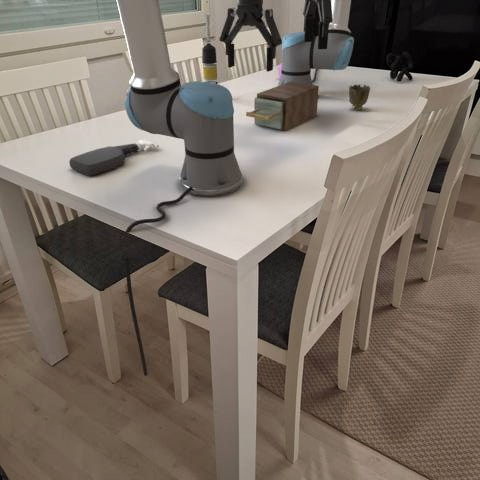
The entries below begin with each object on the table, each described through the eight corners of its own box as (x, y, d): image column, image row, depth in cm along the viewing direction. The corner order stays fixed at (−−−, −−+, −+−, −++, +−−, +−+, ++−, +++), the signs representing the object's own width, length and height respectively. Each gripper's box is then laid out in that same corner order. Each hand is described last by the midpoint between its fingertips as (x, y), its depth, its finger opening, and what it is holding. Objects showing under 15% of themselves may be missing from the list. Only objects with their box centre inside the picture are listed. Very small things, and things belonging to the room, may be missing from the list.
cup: (344, 110, 161) (346, 87, 157) (349, 105, 167) (352, 83, 162) (364, 113, 158) (367, 90, 154) (369, 107, 164) (372, 85, 159)
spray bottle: (67, 168, 120) (139, 144, 136) (91, 178, 114) (163, 151, 130) (65, 157, 118) (137, 134, 134) (89, 167, 112) (162, 142, 128)
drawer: (269, 134, 138) (270, 107, 134) (243, 128, 144) (243, 102, 139) (310, 114, 155) (312, 90, 150) (286, 110, 160) (286, 86, 156)
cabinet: (285, 131, 144) (286, 98, 138) (256, 124, 150) (256, 93, 144) (316, 115, 157) (318, 85, 152) (289, 110, 163) (290, 81, 158)
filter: (220, 99, 177) (217, 15, 161) (206, 100, 176) (202, 16, 160) (215, 96, 182) (212, 14, 166) (202, 97, 180) (197, 14, 164)
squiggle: (400, 92, 202) (376, 71, 205) (417, 76, 202) (392, 56, 205) (405, 81, 191) (380, 59, 194) (423, 64, 191) (397, 42, 194)
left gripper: (295, -11, 122) (292, 70, 134) (220, -12, 134) (222, 62, 145) (283, -10, 117) (280, 74, 128) (205, -11, 128) (209, 67, 140)
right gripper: (349, -37, 115) (341, 51, 126) (319, -38, 136) (314, 38, 147) (321, -36, 114) (316, 53, 125) (295, -37, 135) (292, 39, 146)
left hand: (250, 68), depth 137 cm, fingers open, 13 cm apart
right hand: (315, 45), depth 136 cm, fingers open, 13 cm apart
